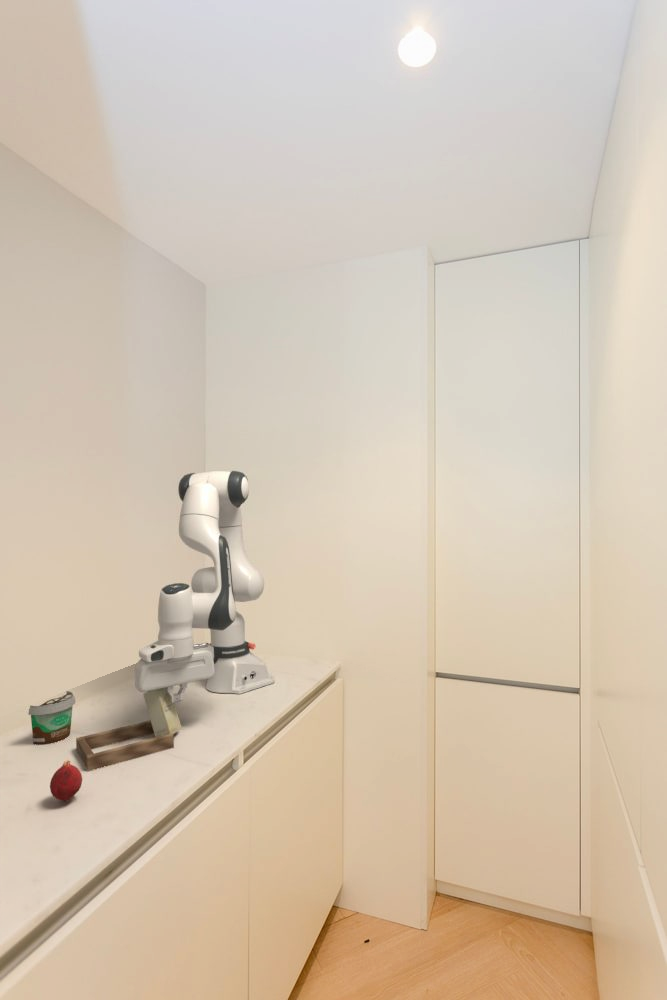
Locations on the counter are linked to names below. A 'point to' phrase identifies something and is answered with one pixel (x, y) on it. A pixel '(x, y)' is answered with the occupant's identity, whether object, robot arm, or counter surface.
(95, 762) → the u rest
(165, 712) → the skincare box
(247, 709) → the counter surface
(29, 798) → the counter surface
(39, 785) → the counter surface
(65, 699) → the food container
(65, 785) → the red pomegranate
